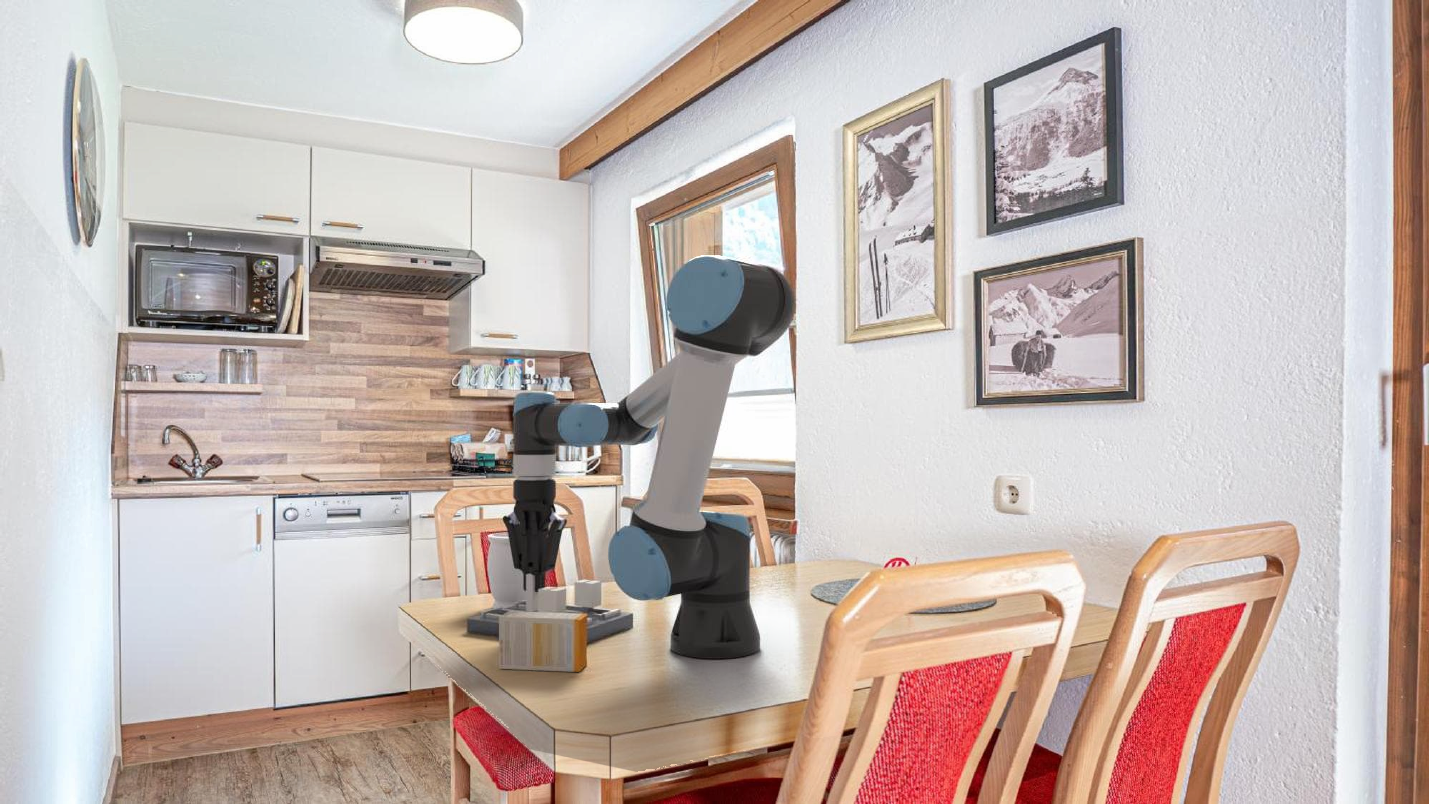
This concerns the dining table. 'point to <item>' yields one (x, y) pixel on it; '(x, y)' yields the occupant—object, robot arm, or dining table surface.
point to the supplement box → (543, 641)
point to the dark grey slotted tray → (597, 621)
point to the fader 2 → (587, 594)
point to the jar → (503, 572)
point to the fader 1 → (552, 600)
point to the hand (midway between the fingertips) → (534, 609)
